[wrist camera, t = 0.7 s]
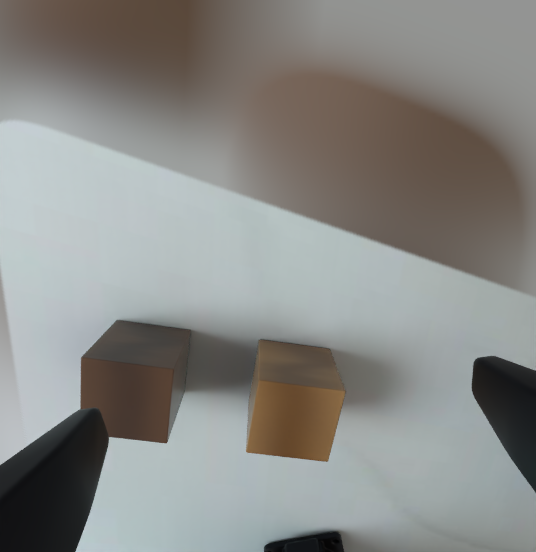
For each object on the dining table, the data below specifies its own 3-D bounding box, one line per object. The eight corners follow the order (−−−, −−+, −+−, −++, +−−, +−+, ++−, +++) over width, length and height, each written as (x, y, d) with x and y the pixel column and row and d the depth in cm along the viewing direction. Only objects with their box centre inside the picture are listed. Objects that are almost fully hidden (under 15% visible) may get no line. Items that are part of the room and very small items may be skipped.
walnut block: (191, 329, 24) (174, 369, 19) (184, 392, 26) (166, 444, 21) (116, 319, 24) (80, 357, 19) (113, 383, 25) (79, 434, 21)
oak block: (329, 348, 25) (346, 391, 20) (316, 408, 26) (328, 462, 21) (258, 338, 25) (258, 380, 20) (248, 400, 26) (245, 453, 21)
